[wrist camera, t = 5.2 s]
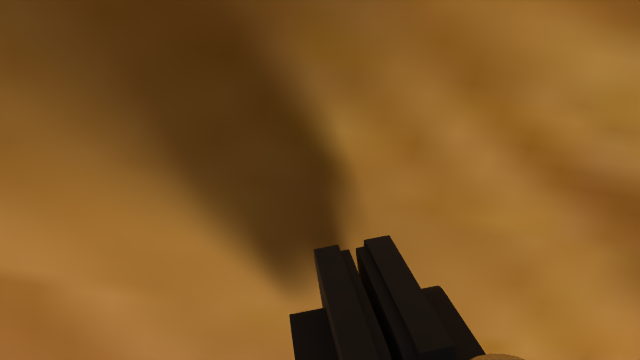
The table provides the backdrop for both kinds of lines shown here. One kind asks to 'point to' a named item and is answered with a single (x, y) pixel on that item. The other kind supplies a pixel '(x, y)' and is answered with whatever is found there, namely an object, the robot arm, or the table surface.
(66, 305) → the table surface
